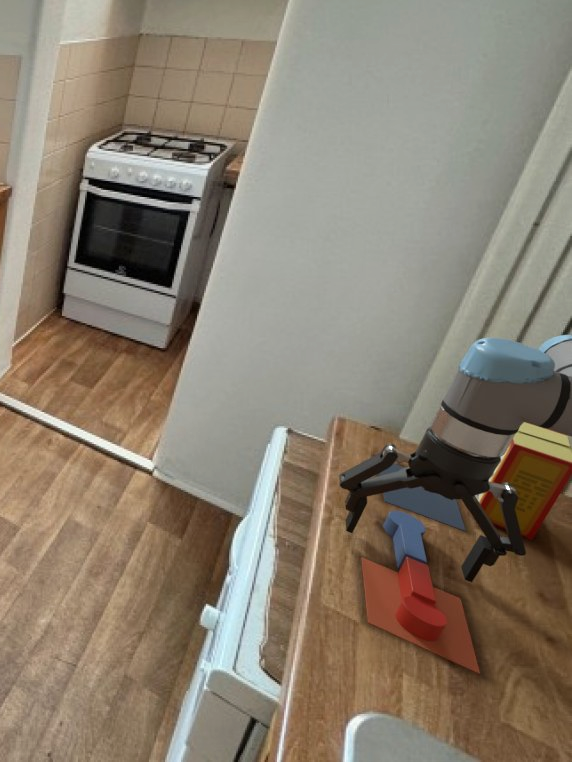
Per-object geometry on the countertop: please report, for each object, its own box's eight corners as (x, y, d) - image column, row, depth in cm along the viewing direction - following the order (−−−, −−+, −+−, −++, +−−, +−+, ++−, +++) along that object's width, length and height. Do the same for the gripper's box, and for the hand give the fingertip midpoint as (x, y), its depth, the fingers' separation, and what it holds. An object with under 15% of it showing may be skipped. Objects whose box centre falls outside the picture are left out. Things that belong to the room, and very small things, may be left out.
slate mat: (450, 485, 107) (451, 483, 107) (464, 533, 97) (466, 531, 97) (377, 460, 112) (378, 458, 112) (383, 503, 103) (384, 501, 103)
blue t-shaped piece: (427, 583, 89) (436, 565, 87) (387, 567, 91) (396, 549, 90) (416, 533, 97) (425, 516, 96) (381, 519, 100) (388, 503, 98)
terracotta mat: (459, 600, 86) (460, 598, 86) (478, 676, 77) (480, 673, 76) (360, 559, 92) (361, 557, 92) (366, 624, 83) (368, 622, 82)
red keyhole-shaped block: (388, 570, 90) (397, 552, 89) (428, 586, 88) (437, 569, 86) (397, 628, 82) (406, 610, 80) (441, 648, 79) (452, 629, 78)
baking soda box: (530, 541, 96) (578, 463, 90) (473, 518, 100) (515, 442, 94) (524, 507, 102) (568, 432, 96) (470, 487, 106) (509, 414, 101)
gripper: (587, 466, 80) (514, 578, 88) (349, 392, 94) (305, 494, 102) (609, 501, 75) (528, 617, 83) (352, 417, 88) (305, 523, 96)
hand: (405, 549), depth 92 cm, fingers open, 13 cm apart
